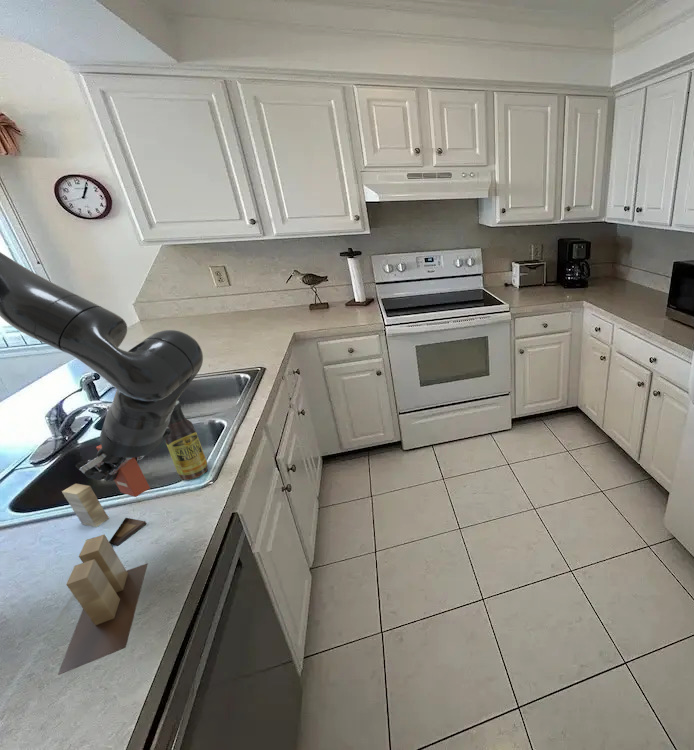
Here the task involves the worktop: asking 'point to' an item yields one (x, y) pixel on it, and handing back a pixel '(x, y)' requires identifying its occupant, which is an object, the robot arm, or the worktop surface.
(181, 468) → the sauce bottle
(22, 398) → the worktop surface
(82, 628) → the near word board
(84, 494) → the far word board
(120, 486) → the orange brick
